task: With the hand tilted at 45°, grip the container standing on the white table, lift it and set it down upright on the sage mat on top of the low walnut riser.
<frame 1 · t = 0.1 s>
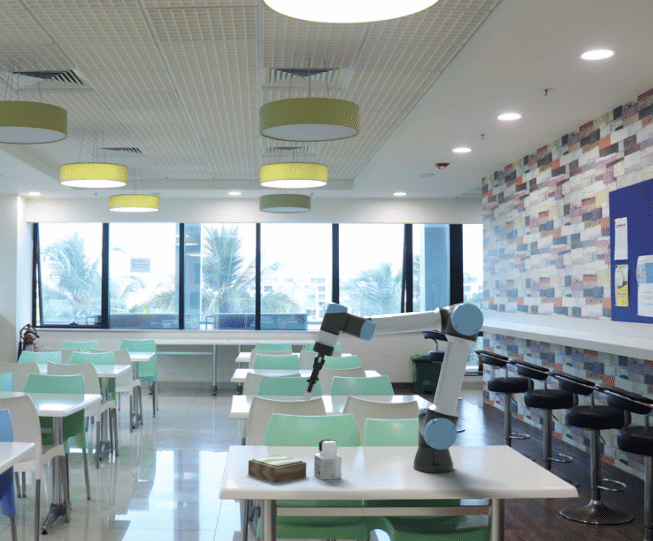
hand: (306, 398, 252), 28 cm above the table, tool tilted 20°, fingers open, 13 cm apart
container: (327, 477, 248), on the table
riser: (277, 475, 249), on the table
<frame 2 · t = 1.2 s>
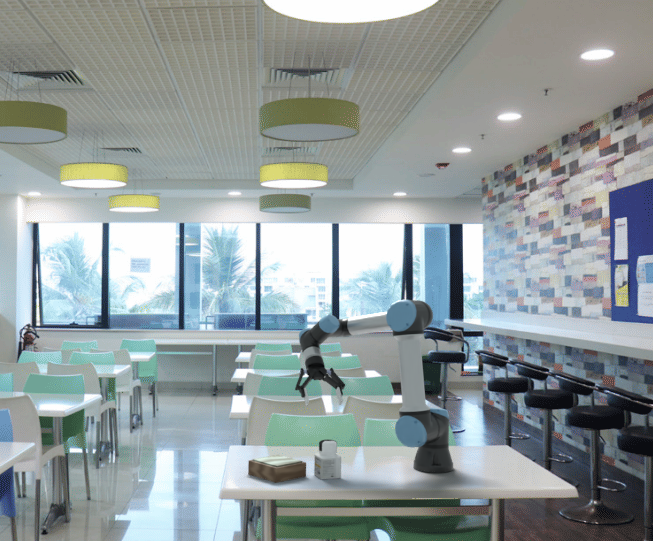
hand: (324, 403, 264), 24 cm above the table, tool tilted 45°, fingers open, 13 cm apart
nothing on the table moved.
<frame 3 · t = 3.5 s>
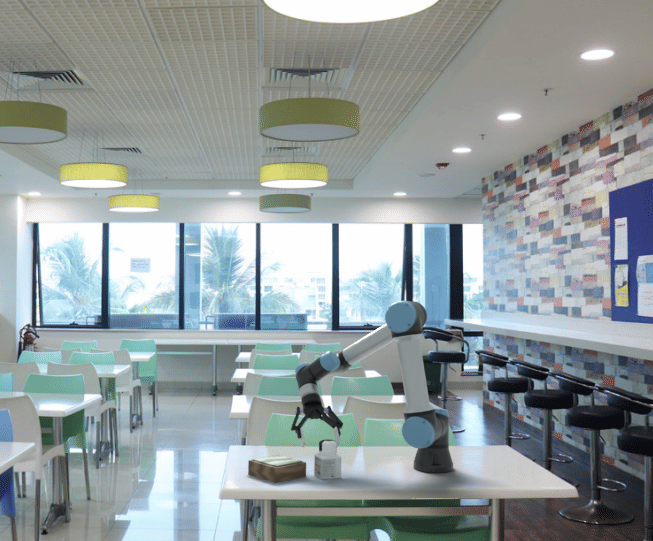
hand: (321, 444, 253), 11 cm above the table, tool tilted 45°, fingers open, 13 cm apart
nothing on the table moved.
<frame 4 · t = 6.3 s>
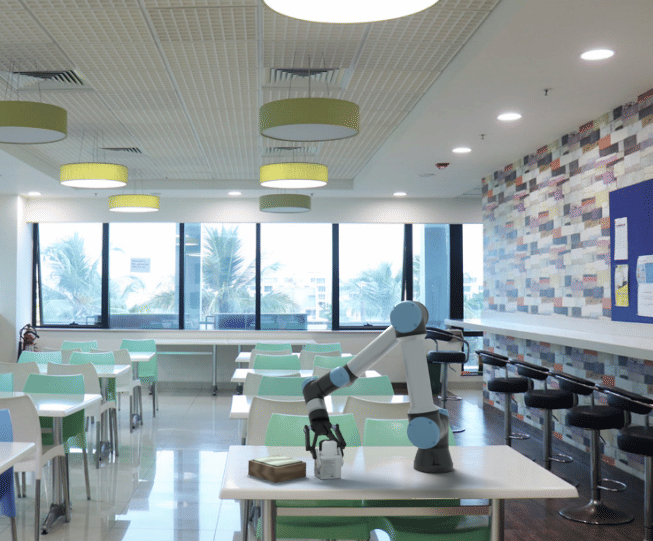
hand: (330, 465, 245), 5 cm above the table, tool tilted 45°, fingers closed on container, 8 cm apart
container: (327, 477, 248), on the table, touching gripper
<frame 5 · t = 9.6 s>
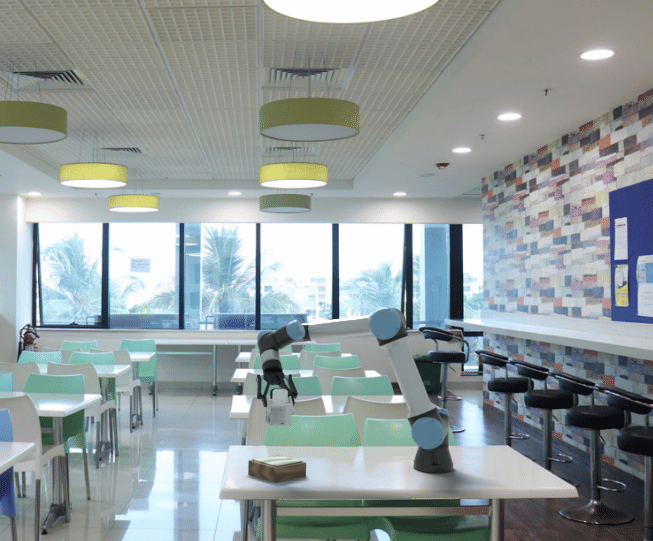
hand: (281, 413, 247), 23 cm above the table, tool tilted 45°, fingers closed on container, 8 cm apart
container: (278, 424, 250), point 18 cm above the table, touching gripper
when the fingers open (12 cm above the table, at t = 13.1 s): container drops 1 cm, resting on riser.
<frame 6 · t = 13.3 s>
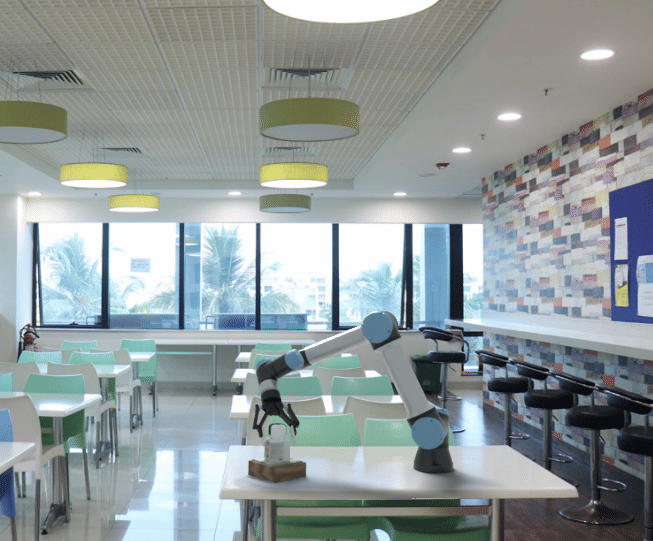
hand: (279, 443, 247), 12 cm above the table, tool tilted 45°, fingers open, 10 cm apart
container: (276, 460, 249), point 5 cm above the table, touching riser
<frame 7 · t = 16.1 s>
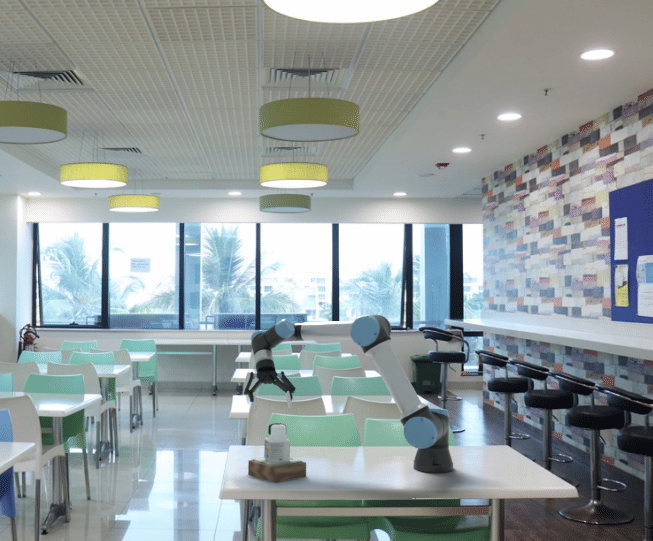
hand: (273, 407, 261), 23 cm above the table, tool tilted 45°, fingers open, 13 cm apart
nothing on the table moved.
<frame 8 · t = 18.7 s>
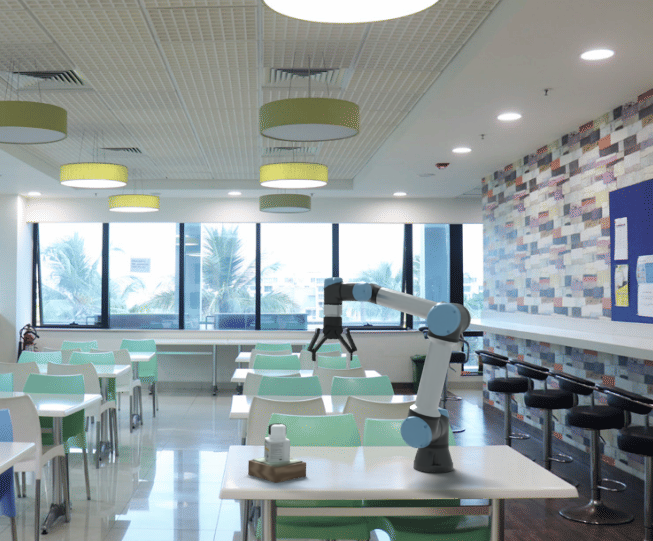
hand: (332, 369, 272), 37 cm above the table, tool pointing down, fingers open, 13 cm apart
nothing on the table moved.
at the end: container inside the target area on the riser (0.1 cm from its centre), point 5.3 cm above the riser's base; container tilted 0°; the gripper is holding nothing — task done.
